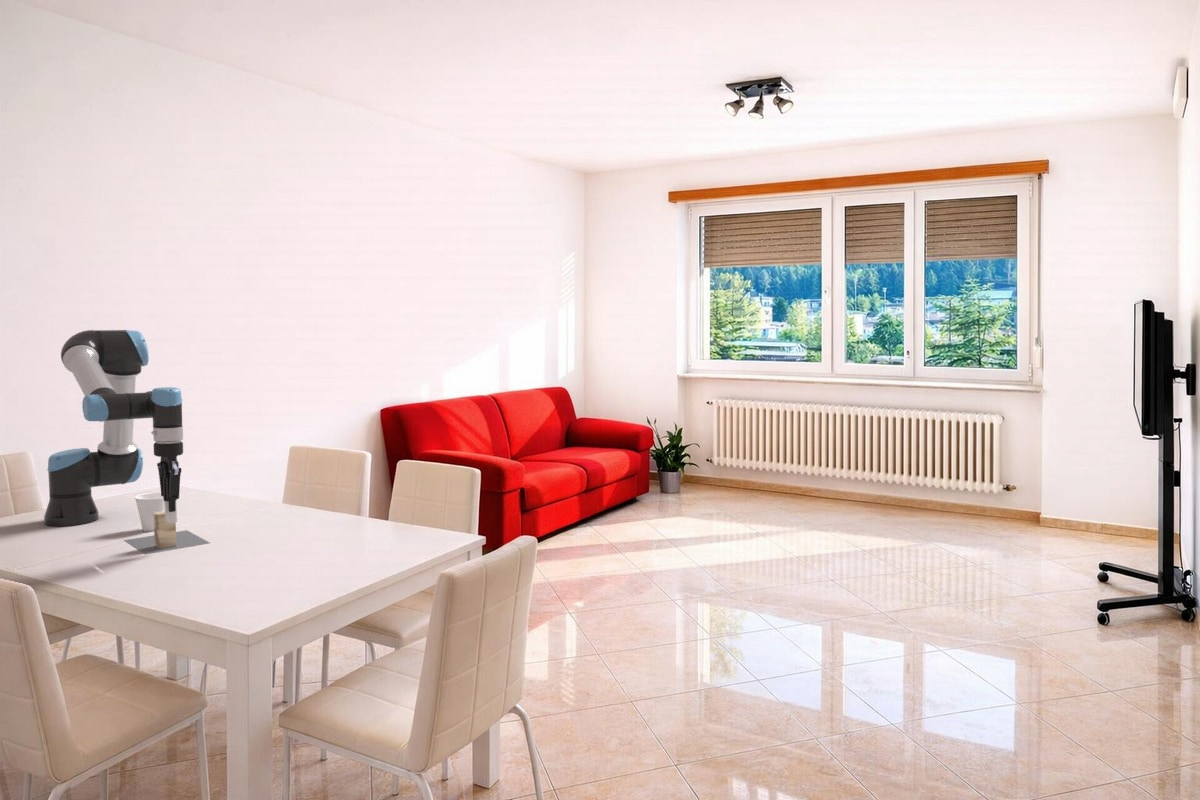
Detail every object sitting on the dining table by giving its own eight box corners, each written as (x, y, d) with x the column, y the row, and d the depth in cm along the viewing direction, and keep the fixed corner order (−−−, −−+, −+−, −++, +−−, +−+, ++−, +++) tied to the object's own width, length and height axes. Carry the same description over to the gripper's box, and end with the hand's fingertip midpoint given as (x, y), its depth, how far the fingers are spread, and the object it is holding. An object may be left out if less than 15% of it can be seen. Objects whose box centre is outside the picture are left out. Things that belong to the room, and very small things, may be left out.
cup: (155, 534, 259) (154, 500, 258) (128, 532, 261) (127, 498, 260) (178, 526, 269) (176, 493, 268) (151, 524, 271) (150, 491, 270)
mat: (123, 541, 251) (123, 540, 251) (186, 531, 264) (186, 530, 264) (145, 555, 237) (145, 554, 237) (210, 544, 250) (210, 543, 250)
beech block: (154, 546, 245) (153, 512, 244) (171, 543, 249) (170, 510, 248) (159, 549, 242) (158, 515, 241) (176, 546, 245) (175, 513, 244)
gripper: (146, 440, 240) (149, 519, 243) (161, 445, 231) (164, 528, 234) (174, 437, 246) (176, 515, 248) (190, 443, 236) (192, 524, 239)
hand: (170, 522), depth 241 cm, fingers closed
